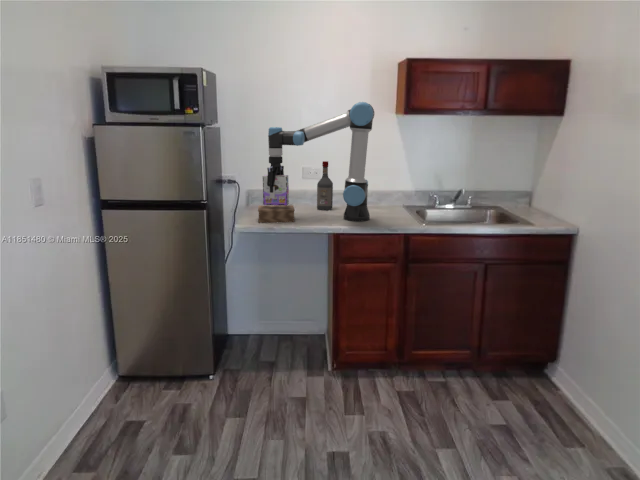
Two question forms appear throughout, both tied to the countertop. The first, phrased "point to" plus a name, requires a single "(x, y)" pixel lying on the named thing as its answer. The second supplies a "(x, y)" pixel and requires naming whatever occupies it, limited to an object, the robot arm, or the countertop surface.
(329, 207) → the liquor
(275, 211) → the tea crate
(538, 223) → the countertop surface
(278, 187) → the candy box
